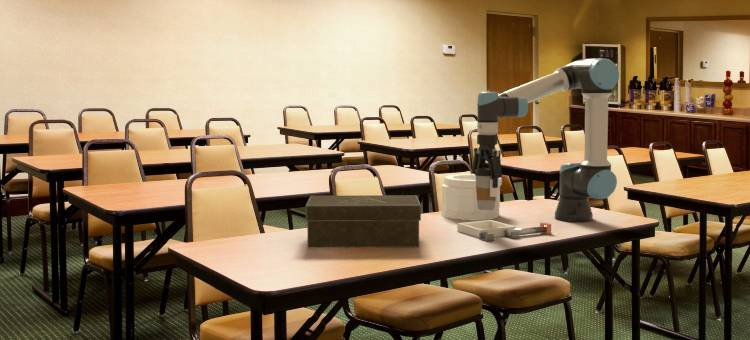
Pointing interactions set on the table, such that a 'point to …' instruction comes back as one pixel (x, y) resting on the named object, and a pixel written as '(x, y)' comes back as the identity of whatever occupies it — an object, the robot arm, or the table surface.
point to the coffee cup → (484, 190)
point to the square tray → (484, 228)
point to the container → (465, 199)
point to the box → (363, 221)
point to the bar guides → (490, 237)
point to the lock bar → (532, 230)
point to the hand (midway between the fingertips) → (486, 194)
